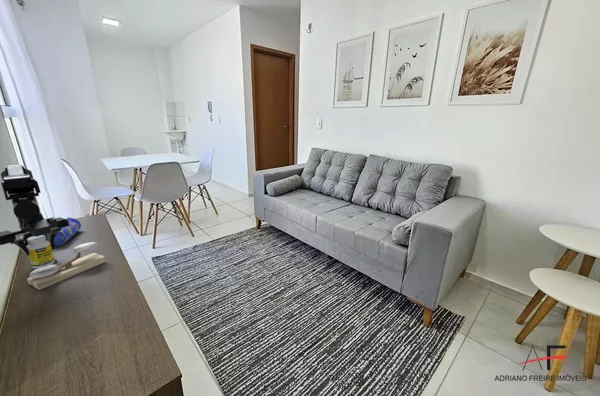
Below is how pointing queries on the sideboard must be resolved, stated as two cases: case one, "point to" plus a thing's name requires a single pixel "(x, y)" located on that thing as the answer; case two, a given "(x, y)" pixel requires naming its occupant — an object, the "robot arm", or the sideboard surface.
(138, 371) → the sideboard surface
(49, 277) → the balance
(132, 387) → the sideboard surface
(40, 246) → the pill bottle
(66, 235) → the pencil case
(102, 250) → the sideboard surface
